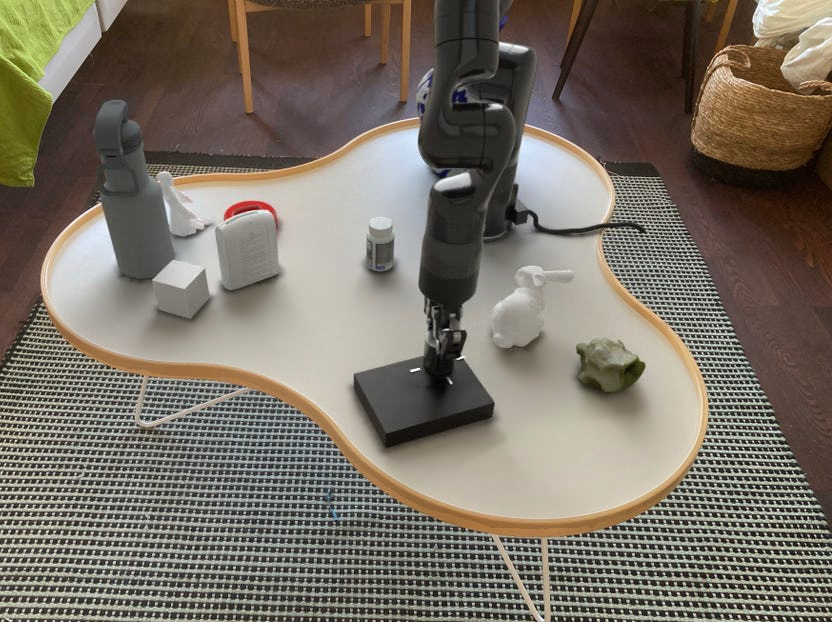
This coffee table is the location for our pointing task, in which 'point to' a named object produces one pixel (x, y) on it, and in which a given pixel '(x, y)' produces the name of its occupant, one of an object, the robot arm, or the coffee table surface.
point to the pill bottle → (380, 244)
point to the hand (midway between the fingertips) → (438, 357)
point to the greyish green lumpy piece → (608, 365)
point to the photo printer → (247, 248)
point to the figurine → (179, 208)
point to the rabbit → (524, 307)
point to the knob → (432, 353)
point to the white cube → (181, 288)
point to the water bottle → (130, 195)
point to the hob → (421, 400)
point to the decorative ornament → (249, 209)
